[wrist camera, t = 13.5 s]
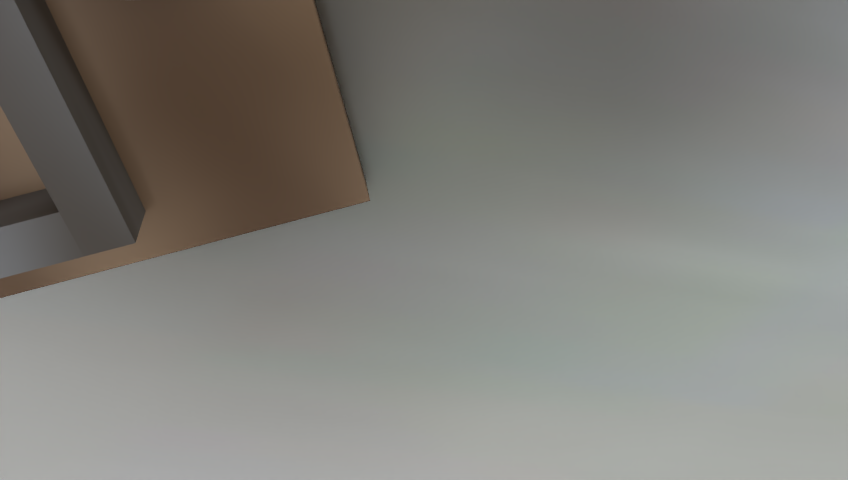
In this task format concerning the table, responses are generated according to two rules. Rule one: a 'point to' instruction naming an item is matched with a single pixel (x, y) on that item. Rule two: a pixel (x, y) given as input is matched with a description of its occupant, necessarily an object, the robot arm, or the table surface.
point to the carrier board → (161, 130)
